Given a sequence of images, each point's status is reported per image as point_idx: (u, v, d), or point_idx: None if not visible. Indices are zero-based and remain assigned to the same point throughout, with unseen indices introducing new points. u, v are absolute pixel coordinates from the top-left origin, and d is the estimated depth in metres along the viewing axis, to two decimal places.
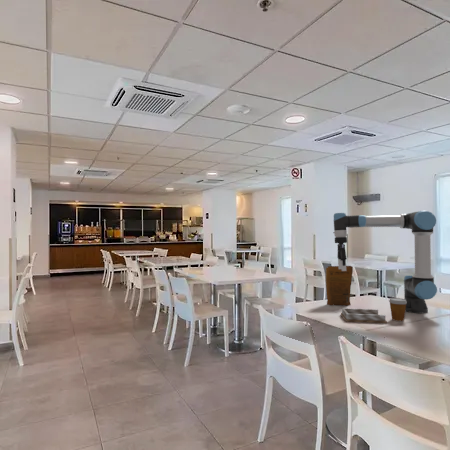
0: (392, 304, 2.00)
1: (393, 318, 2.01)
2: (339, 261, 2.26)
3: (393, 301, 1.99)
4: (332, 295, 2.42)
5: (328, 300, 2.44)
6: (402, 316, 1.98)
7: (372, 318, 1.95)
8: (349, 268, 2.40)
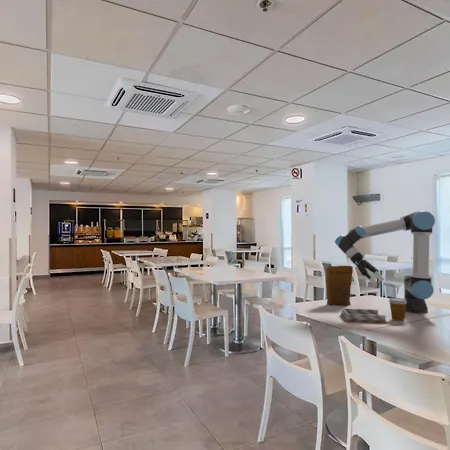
0: (392, 304, 2.00)
1: (393, 318, 2.01)
2: (375, 274, 2.17)
3: (393, 301, 1.99)
4: (332, 295, 2.42)
5: (328, 300, 2.44)
6: (402, 316, 1.98)
7: (372, 318, 1.95)
8: (349, 268, 2.40)
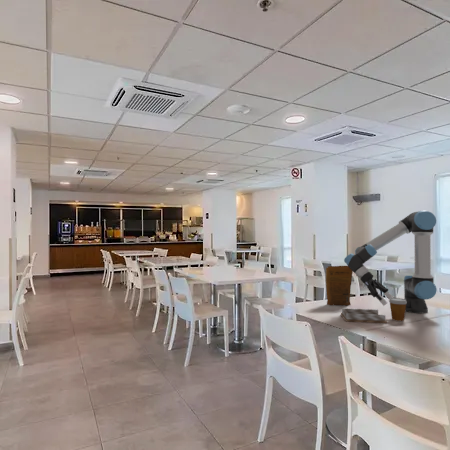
0: (392, 304, 2.00)
1: (393, 318, 2.01)
2: (386, 295, 2.11)
3: (393, 301, 1.99)
4: (332, 295, 2.42)
5: (328, 300, 2.44)
6: (402, 316, 1.98)
7: (372, 318, 1.95)
8: (349, 268, 2.40)
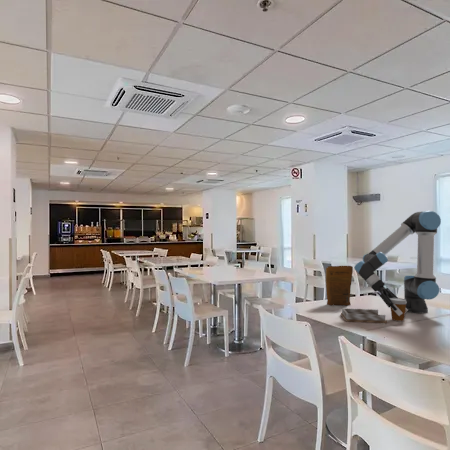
0: None
1: (393, 318, 2.01)
2: None
3: (393, 301, 1.99)
4: (332, 295, 2.42)
5: (328, 300, 2.44)
6: (402, 316, 1.98)
7: (372, 318, 1.95)
8: (349, 268, 2.40)
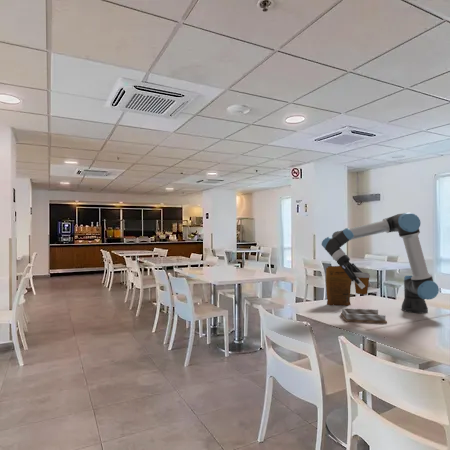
0: None
1: (356, 292, 2.03)
2: None
3: (356, 275, 2.02)
4: (332, 295, 2.42)
5: (328, 300, 2.44)
6: (365, 289, 2.01)
7: (372, 318, 1.95)
8: None
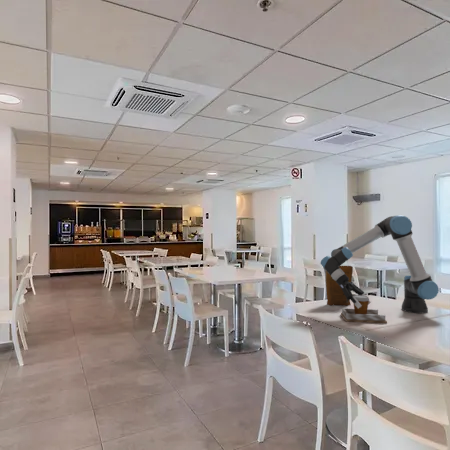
0: None
1: None
2: None
3: None
4: (332, 295, 2.42)
5: (328, 300, 2.44)
6: (364, 313, 2.01)
7: (372, 318, 1.95)
8: (349, 268, 2.40)
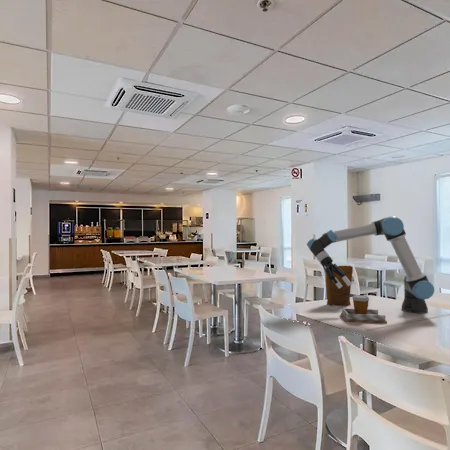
0: (355, 301, 2.03)
1: None
2: (343, 279, 2.21)
3: (355, 298, 2.02)
4: (332, 295, 2.42)
5: (328, 300, 2.44)
6: (364, 313, 2.01)
7: (372, 318, 1.95)
8: (349, 268, 2.40)
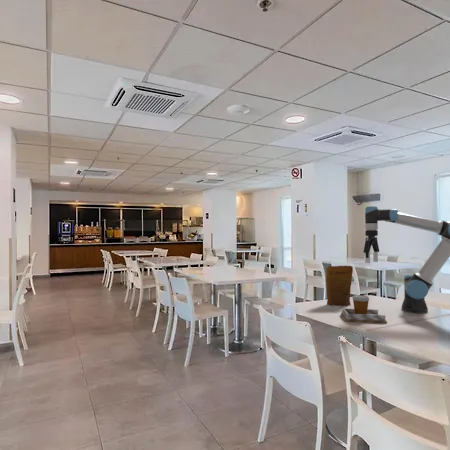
0: (355, 301, 2.03)
1: None
2: (374, 254, 2.29)
3: (356, 298, 2.02)
4: (332, 295, 2.42)
5: (328, 300, 2.44)
6: (364, 313, 2.01)
7: (372, 318, 1.95)
8: (349, 268, 2.40)
